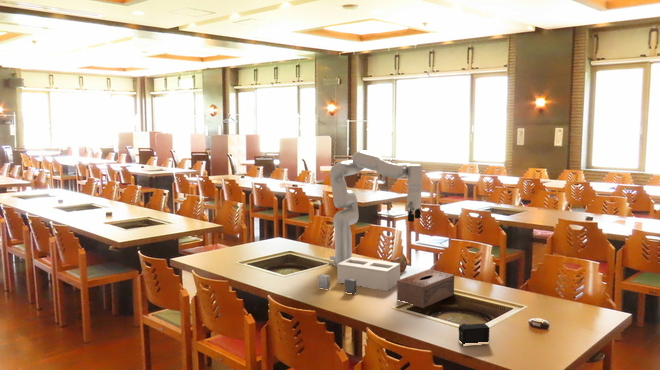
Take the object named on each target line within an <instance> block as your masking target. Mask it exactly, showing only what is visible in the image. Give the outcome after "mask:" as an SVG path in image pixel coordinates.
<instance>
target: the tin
mask: <svg viewBox="0 0 660 370" xmlns="http://www.w3.org/2000/svg"><path fill="white" fill-rule="evenodd" d="M390 262H392V263H400V274H402V273H403V272H406V269H407V267H408V265H407V264H408V262H407V259H406V257H405V256H396V258H393V259H391V261H390Z"/></svg>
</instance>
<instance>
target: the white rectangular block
mask: <svg viewBox="0 0 660 370" xmlns="http://www.w3.org/2000/svg"><path fill="white" fill-rule="evenodd" d="M347 278H349V279H355V280H356V287H360V286H362V287H361V288H366V287H367V289H373V290H378V289H379V290H378V291H384V290H386V291H385V292H388V291H390V290H391V289H393V288H395V287H397V280H400V279H401V273H400V263H392V262H391V261H384V260H379V259H378V260H377V259H376V260H375V259H371V258H370V259H369V258H361V257H355V256H352V257H351V258H349V259H347V260H345V261H343V262H340V263H338V264H337V284H342V283H345V279H347ZM389 289H390V290H389Z"/></svg>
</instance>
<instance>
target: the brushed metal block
mask: <svg viewBox="0 0 660 370" xmlns="http://www.w3.org/2000/svg"><path fill="white" fill-rule="evenodd" d="M345 292H347V293H352V294H355V293H356V294H357V286H356V280H355V279H349V278H347V279H345V284H344V293H345ZM356 294H355V295H356Z"/></svg>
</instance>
